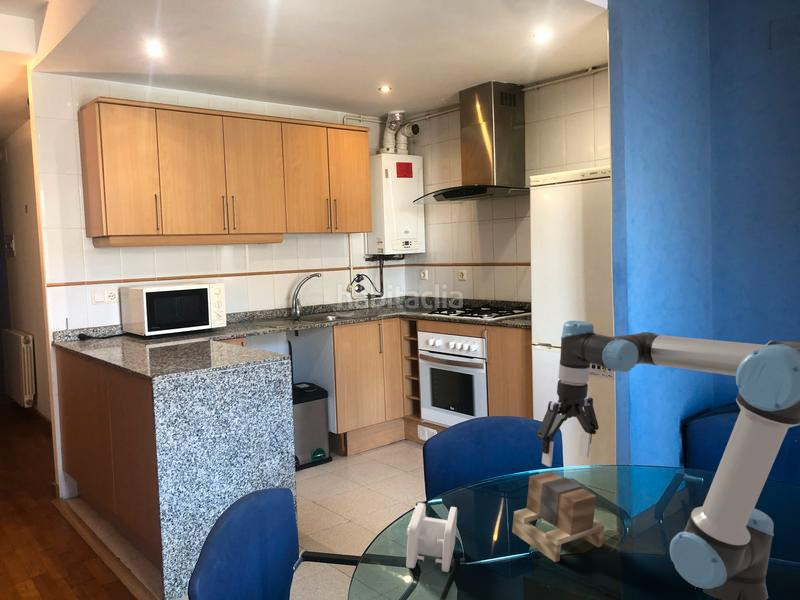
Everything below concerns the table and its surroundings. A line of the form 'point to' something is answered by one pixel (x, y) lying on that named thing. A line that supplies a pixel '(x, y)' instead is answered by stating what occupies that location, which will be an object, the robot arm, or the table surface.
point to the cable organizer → (431, 537)
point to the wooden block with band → (561, 502)
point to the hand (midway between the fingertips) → (565, 460)
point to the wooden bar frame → (551, 534)
